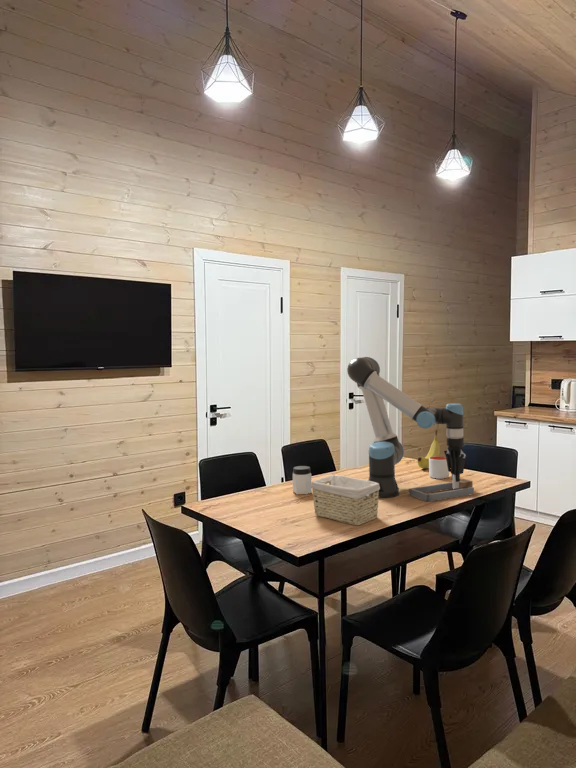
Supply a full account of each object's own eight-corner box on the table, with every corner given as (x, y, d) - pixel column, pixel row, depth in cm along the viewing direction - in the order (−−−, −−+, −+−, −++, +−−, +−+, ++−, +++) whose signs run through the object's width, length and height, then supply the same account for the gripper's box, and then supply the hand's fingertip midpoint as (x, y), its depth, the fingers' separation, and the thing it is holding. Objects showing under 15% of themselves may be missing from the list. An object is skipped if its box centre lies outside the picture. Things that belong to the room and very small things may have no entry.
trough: (428, 501, 247) (427, 495, 247) (409, 495, 259) (409, 488, 259) (473, 494, 258) (473, 487, 258) (453, 488, 270) (453, 481, 270)
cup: (425, 476, 296) (424, 457, 295) (440, 474, 300) (440, 455, 299) (437, 480, 287) (437, 460, 286) (453, 478, 291) (453, 458, 290)
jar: (314, 493, 266) (313, 468, 266) (297, 495, 264) (297, 470, 263) (306, 489, 275) (306, 465, 274) (291, 491, 272) (290, 466, 271)
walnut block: (462, 493, 260) (462, 482, 260) (453, 490, 266) (453, 480, 265) (472, 491, 263) (472, 481, 262) (463, 489, 268) (463, 478, 268)
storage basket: (382, 518, 226) (381, 481, 225) (358, 528, 214) (357, 489, 213) (335, 508, 242) (334, 473, 241) (310, 516, 231) (309, 480, 230)
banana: (423, 471, 307) (423, 435, 306) (414, 470, 311) (413, 434, 310) (442, 464, 325) (442, 429, 323) (433, 463, 328) (432, 429, 327)
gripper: (471, 438, 256) (472, 489, 257) (451, 434, 268) (452, 484, 269) (458, 439, 253) (459, 492, 254) (439, 436, 265) (440, 486, 266)
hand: (455, 487), depth 262 cm, fingers closed
